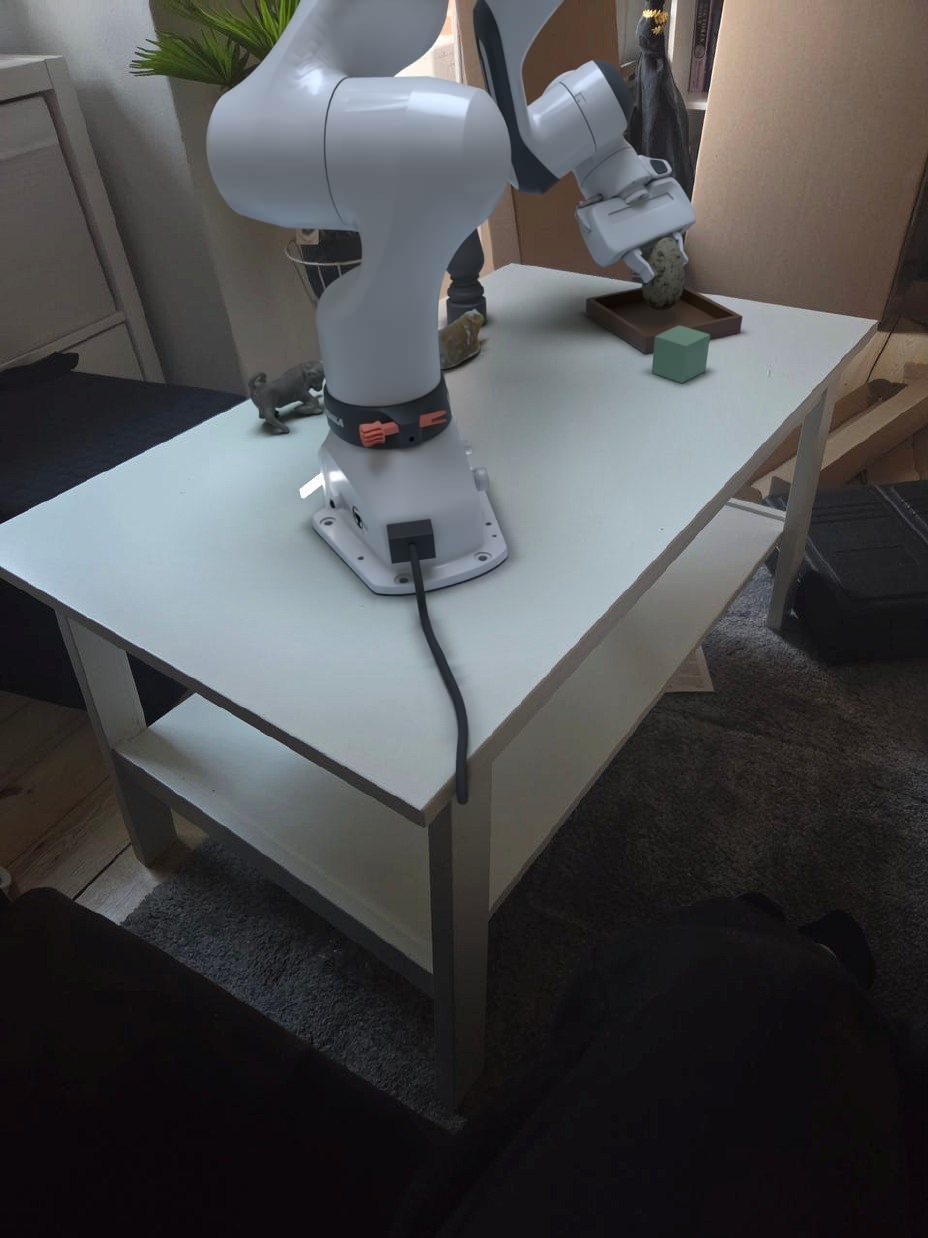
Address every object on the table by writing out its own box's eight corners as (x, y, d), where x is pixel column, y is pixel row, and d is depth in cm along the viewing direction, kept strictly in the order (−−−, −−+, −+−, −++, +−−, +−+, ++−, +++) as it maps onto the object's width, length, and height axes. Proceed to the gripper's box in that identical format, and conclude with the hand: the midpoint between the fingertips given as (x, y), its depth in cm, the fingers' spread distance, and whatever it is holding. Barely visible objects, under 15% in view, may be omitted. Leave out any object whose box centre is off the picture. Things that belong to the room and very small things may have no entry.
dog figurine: (275, 439, 104) (262, 382, 99) (247, 426, 107) (233, 370, 102) (347, 403, 110) (339, 348, 105) (319, 392, 113) (309, 338, 109)
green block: (705, 371, 111) (710, 334, 108) (682, 383, 109) (686, 346, 106) (675, 361, 114) (678, 324, 111) (651, 372, 112) (654, 336, 109)
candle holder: (494, 318, 130) (488, 135, 114) (473, 332, 127) (464, 144, 111) (461, 312, 133) (450, 132, 117) (439, 325, 129) (425, 142, 113)
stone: (399, 326, 112) (467, 285, 121) (396, 366, 117) (461, 324, 126) (440, 350, 110) (506, 307, 119) (435, 390, 115) (499, 346, 124)
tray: (740, 332, 121) (742, 315, 119) (645, 354, 117) (646, 337, 115) (673, 295, 133) (674, 280, 132) (585, 313, 130) (586, 298, 128)
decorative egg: (671, 299, 126) (678, 229, 120) (688, 313, 122) (696, 240, 116) (633, 305, 126) (639, 234, 119) (649, 318, 121) (655, 246, 115)
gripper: (582, 188, 111) (636, 279, 112) (674, 158, 122) (723, 241, 122) (556, 219, 117) (608, 305, 117) (646, 187, 127) (693, 266, 128)
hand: (668, 272), depth 120 cm, fingers closed on decorative egg, 6 cm apart
